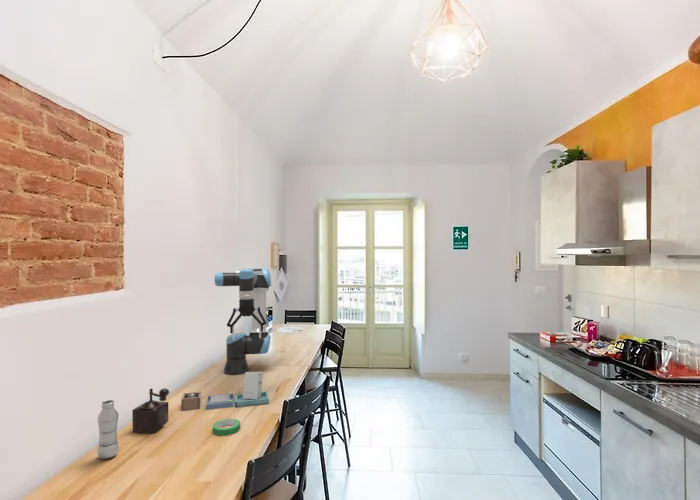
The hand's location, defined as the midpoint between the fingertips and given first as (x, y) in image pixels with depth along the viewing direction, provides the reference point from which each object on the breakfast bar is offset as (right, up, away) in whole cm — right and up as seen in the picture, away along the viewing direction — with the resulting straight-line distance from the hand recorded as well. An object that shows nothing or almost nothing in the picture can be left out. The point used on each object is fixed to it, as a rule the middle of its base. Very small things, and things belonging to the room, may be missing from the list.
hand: (246, 338), depth 208 cm
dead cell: (-21, -28, -20) cm, 40 cm away
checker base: (-9, -29, -16) cm, 34 cm away
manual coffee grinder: (-28, -29, -41) cm, 57 cm away
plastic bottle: (-34, -29, -65) cm, 78 cm away
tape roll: (+3, -29, -43) cm, 52 cm away
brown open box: (-21, -29, -20) cm, 41 cm away
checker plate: (-9, -27, -16) cm, 32 cm away
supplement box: (+6, -27, -13) cm, 31 cm away
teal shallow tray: (+6, -29, -12) cm, 32 cm away
